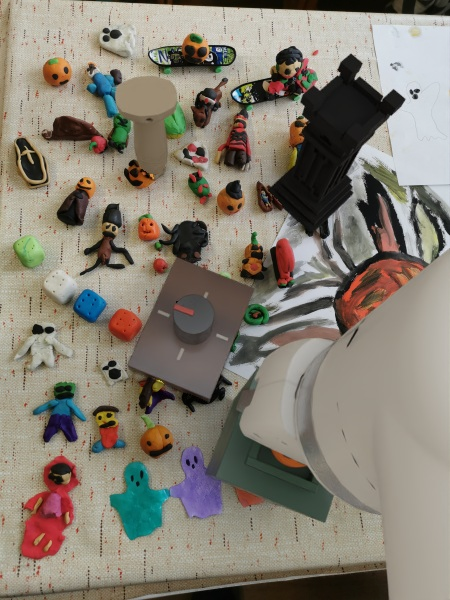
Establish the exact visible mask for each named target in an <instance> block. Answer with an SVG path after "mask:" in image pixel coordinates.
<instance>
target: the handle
mask: <svg viewBox="0 0 450 600" xmlns="http://www.w3.org/2000/svg"><path fill="white" fill-rule="evenodd" d="M177 91H178V90H177V88H176V86H175V84H174V83H173V82H172V81H171V80H170V79H166V78H163V77H159V76H155V75H143V76H134V77H132V78H129V79H126V80H125V81H123V82H121V83H119V84H118V85H117V87H116V89H115V91H114V92H115V93H114V100H115V104H116V108H117V111H118V113H119V115H120V116H121V118H123V119H125V120H128V121H131V122H132V123H133V147H134V153H135V157H136V161H137V163H138V166H139V165H140V166H139V168H140V167H141V168H142V169H143V170H144V171H146V172H147V173H150V174H153V177H154V179H153V180H158V178H159V177H160V176H162V175H164V174H165V173H166V170H167V167H166V165H167V161H168V156H169V155H168V154H169V146H168V137H167V130H166V125H165V119H168V118H170V117H171V116H173V115H174V114H175V113H176V111H177V106H178V92H177ZM141 168H140V169H141Z"/></svg>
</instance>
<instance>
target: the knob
mask: <svg viewBox="0 0 450 600" xmlns="http://www.w3.org/2000/svg"><path fill="white" fill-rule="evenodd" d="M213 321H214V308H213V306H212V304H211V303H210V301H209V300H207V299H206V298H205V297H203V296H200V295H196V294H192V295H187V296H184V297H182V298H181V299H180V300H179V301H178V302H177V303H176V304H175V306H174V309H173V326H174V332H175V334H176V336H177V337H178V338H179V339H180V340H181V341H183V342H185V343H187V344H199V343H201V342H203V341H205V340H206V339H207V338H208V337H209V335H210V333H211V330H212V326H213Z"/></svg>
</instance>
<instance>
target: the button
mask: <svg viewBox="0 0 450 600" xmlns="http://www.w3.org/2000/svg"><path fill="white" fill-rule="evenodd" d="M271 450H272V453H273V454H274V456H275V458H276V459H277V460H278V461H279V462H281V463H282V464H284V465H286V466H289V467H304V466H307V465H303V464H301V463H298V462H297V461H296V460H294V459H289V458H286V457H284V456H283V454H281V453H279V452H277V451H275V450H273V449H271Z"/></svg>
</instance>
